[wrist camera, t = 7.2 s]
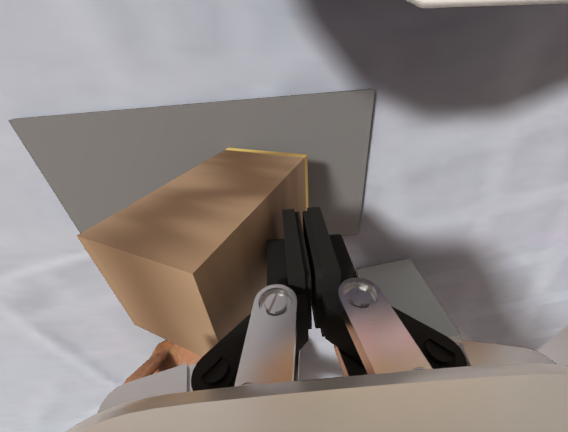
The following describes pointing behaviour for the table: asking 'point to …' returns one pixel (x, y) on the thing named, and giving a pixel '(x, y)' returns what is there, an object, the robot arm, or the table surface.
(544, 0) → the ramen bowl
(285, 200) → the walnut block
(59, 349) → the table surface
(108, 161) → the rubber mat
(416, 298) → the slate block
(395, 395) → the robot arm
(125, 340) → the table surface
